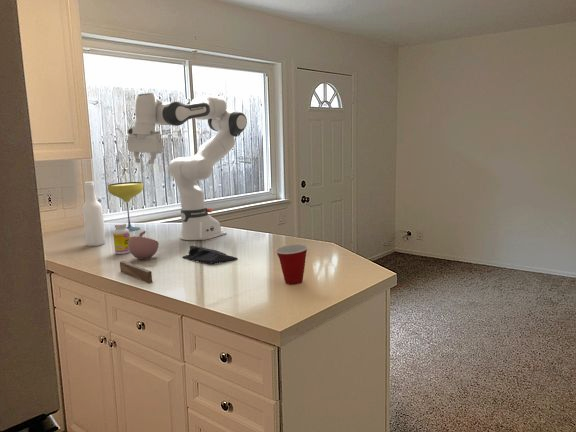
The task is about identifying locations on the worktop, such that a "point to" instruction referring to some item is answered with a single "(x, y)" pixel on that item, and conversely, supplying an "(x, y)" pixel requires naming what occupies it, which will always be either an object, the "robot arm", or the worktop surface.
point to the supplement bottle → (121, 238)
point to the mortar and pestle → (142, 246)
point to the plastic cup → (292, 262)
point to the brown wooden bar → (136, 272)
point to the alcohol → (93, 218)
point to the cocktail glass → (126, 194)
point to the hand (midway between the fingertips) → (144, 163)
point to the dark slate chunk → (208, 255)
